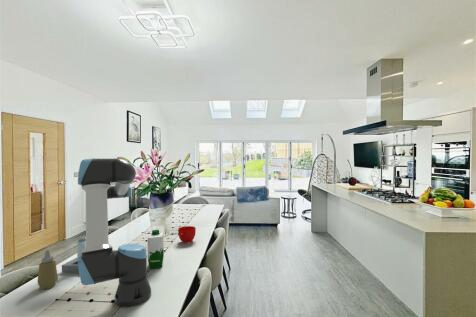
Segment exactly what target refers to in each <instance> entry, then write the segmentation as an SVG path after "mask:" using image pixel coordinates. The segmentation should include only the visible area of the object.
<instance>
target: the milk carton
mask: <svg viewBox="0 0 476 317" xmlns="http://www.w3.org/2000/svg"><path fill="white" fill-rule="evenodd" d="M164 252H165V251H164V235H163V232H160V229H153V230H152V231H151V233H149V234H148V236H147V261H148V263H147V264H148V269H149V270H153V269H160V268H163V264H164V263H163V262H164V257H165V256H164Z"/></svg>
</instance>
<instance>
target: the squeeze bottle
mask: <svg viewBox="0 0 476 317" xmlns="http://www.w3.org/2000/svg"><path fill="white" fill-rule="evenodd" d="M58 278H59V276H58V270H57V263H56V260H54V256H53V255H51V254H50V250H49V249H46V250H45V253H44V256H43V257H42V258H41V262H40V263H39V264H38V273H37V284H38V286H39V289H40V290H48V289H51V288H53V287H55V286H56V283H57V281H58Z"/></svg>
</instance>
